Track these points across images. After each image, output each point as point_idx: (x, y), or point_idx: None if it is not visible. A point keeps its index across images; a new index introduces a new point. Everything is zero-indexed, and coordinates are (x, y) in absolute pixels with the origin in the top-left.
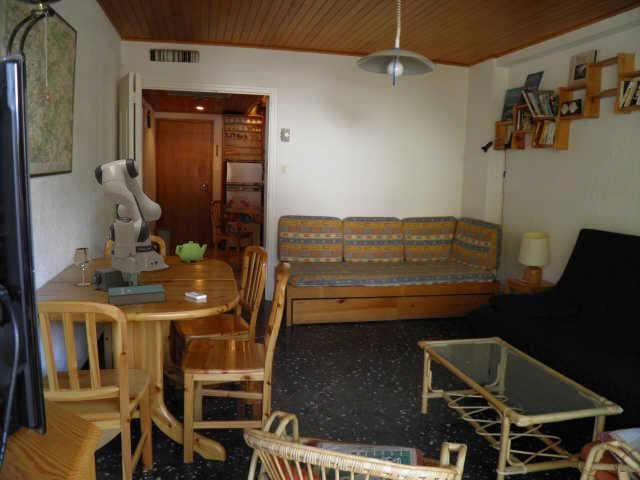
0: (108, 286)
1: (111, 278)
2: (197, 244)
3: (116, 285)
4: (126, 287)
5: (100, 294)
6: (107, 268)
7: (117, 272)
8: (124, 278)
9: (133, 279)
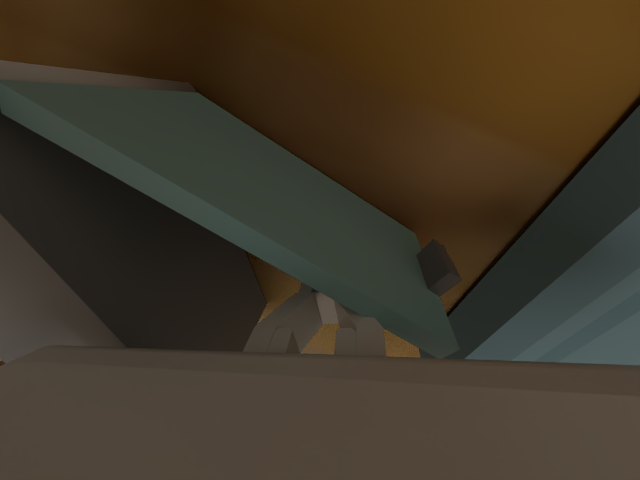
0: (250, 310)
1: (215, 338)
2: None
3: (232, 267)
4: (546, 351)
5: (322, 338)
6: (5, 355)
7: (153, 340)
8: (328, 317)
9: (306, 207)
